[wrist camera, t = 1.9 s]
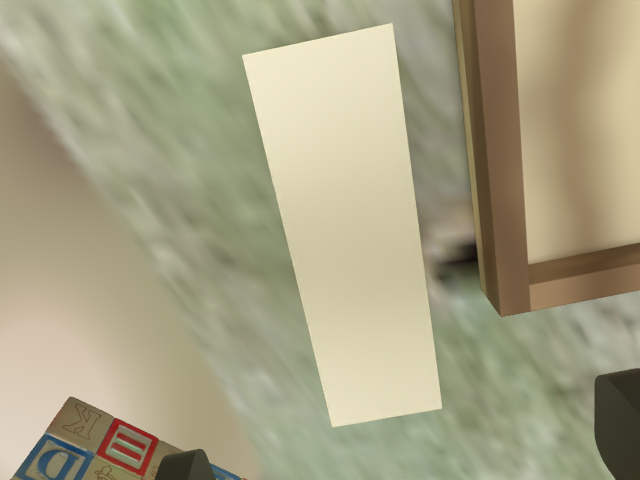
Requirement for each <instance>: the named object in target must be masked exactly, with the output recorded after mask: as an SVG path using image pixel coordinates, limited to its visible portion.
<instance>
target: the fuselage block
mask: <svg viewBox="0 0 640 480" xmlns="http://www.w3.org/2000/svg"><path fill="white" fill-rule="evenodd" d="M242 58H243V62H244V66H245V70H246V74H247V78H248V82H249V86H250V90H251V95H252V99H253V103H254V107H255V111H256V115H257V119H258V123H259V127H260V132H261V136H262V140H263V144H264V148H265V152H266V156H267V160H268V165H269V169H270V173H271V177H272V181H273V185H274V189H275V193H276V197H277V202H278V206H279V210H280V214H281V218H282V222H283V226H284V230H285V234H286V239H287V243H288V247H289V251H290V255H291V259H292V263H293V267H294V272H295V276H296V280H297V284H298V288H299V292H300V296H301V300H302V304H303V309H304V313H305V317H306V321H307V325H308V329H309V333H310V337H311V342H312V346H313V350H314V354H315V358H316V362H317V366H318V370H319V374H320V379H321V383H322V387H323V391H324V395H325V399H326V403H327V407H328V411H329V416H330V420H331V424H332V427H337V426H343V425H349V424H355V423H361V422H367V421H372V420H378V419H384V418H390V417H396V416H402V415H408V414H414V413H419V412H425V411H431V410H437V409H442V402H441V394H440V387H439V379H438V371H437V363H436V356H435V348H434V340H433V332H432V325H431V317H430V309H429V301H428V294H427V286H426V278H425V271H424V263H423V255H422V247H421V240H420V232H419V224H418V216H417V209H416V201H415V193H414V185H413V178H412V170H411V162H410V154H409V147H408V139H407V131H406V123H405V116H404V108H403V100H402V92H401V85H400V77H399V69H398V61H397V54H396V46H395V38H394V30H393V23H390V24H385V25H380V26H376V27H371V28H367V29H362V30H357V31H353V32H348V33H343V34H339V35H334V36H329V37H325V38H320V39H316V40H311V41H306V42H302V43H297V44H292V45H288V46H283V47H278V48H274V49H269V50H264V51H260V52H255V53H251V54H246V55H242Z"/></svg>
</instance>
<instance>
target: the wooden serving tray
mask: <svg viewBox="0 0 640 480" xmlns="http://www.w3.org/2000/svg"><path fill="white" fill-rule="evenodd" d="M452 5H453V15H454V25H455V35H456V45H457V55H458V65H459V75H460V85H461V95H462V105H463V115H464V125H465V135H466V145H467V155H468V165H469V175H470V184H471V194H472V204H473V214H474V224H475V234H476V244H477V254H478V264H479V274H480V284H481V290H482V291H483V293H484V294H485V295H486V297H487V298H488V300H489V301H490V302H491V304H492V305H493V307H494V308H495V310H496V311H497V312H498V314H499V315H500V317H504V316H509V315H515V314H520V313H525V312H530V311H535V310H540V309H545V308H551V307H556V306H561V305H566V304H571V303H576V302H581V301H587V300H592V299H597V298H602V297H607V296H612V295H617V294H623V293H628V292H633V291H638V290H640V0H452Z"/></svg>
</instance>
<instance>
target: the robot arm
mask: <svg viewBox="0 0 640 480" xmlns="http://www.w3.org/2000/svg"><path fill="white" fill-rule="evenodd" d="M594 432H595V440H596V444H597V447H598V450H599V453H600V455H601V457H602V459H603V461H604V463H605V465H606V466H607V468H608V469H609V471H610V472H611V474H612V475H613V476H614V478H615V479H616V480H640V369H639V368H636V369H630V370H625V371H620V372H614V373H609V374H604V375H599V376H597V377H596V380H595V426H594ZM154 480H216V478H215V475H214V473H213V470H212V468H211V465H210V463H209V461H208V458H207V456H206V454H205V452H204V451H203V450H202V449H197V450H192V451H186V452H181V453H175V454H170V455H166V456H164V457H163V458H162V460H161V462H160V465H159V468H158V470H157V473H156V476H155V479H154Z"/></svg>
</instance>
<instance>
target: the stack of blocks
mask: <svg viewBox="0 0 640 480" xmlns="http://www.w3.org/2000/svg"><path fill="white" fill-rule="evenodd" d="M181 452H185V451H182V450H180V449H178V448H176V447H174V446H172V445H170V444H168V443H166V442H164V441H160V440H159V439H158V438H156V437H155V436H153V435H151V434H149V433H147V432H145V431H143V430H141V429H139V428H137V427H134V426H132V425H130V424H128V423H126V422H124V421H122V420H120V419H118V418H114V417H113V416H112V415H110V414H108V413H106V412H104V411H102V410H100V409H98V408H96V407H94V406H92V405H90V404H87V403H85V402H83V401H81V400H79V399H77V398H74V397H69V398H68V400H67V401H66V402H65V404H64V406H63V407H62V409H61V410H60V411H59V413H58V414H57V415H56V417H55V418H54V420H53V421H52V422H51V424H50V426H49V427H48V428H47V430H46V432H45V434H44V435H43V436H42V437H41V439H40V440H39V441H38V443H37V444H36V445H35V447H34V448H33V450H32V451H31V452H30V454H29V455H28V456H27V458H26V459H25V461H24V462H23V463H22V465H21V466H20V467H19V469H18V470H17V472H16V473H15V474H14V476H13V477H12V479H10V480H154V479H155V476H156V473H157V470H158V468H159V465H160V462H161V460H162V458H163V457H164V456H166V455H170V454H175V453H181ZM210 465H211V468H212V470H213V473H214V475H215V478H216V480H246V479H245V478H239V477H238V476H236V475H234V474H232V473H230V472H228V471H226V470H223V469H221V468H219V467H217V466H215V465H213V464H210Z"/></svg>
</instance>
